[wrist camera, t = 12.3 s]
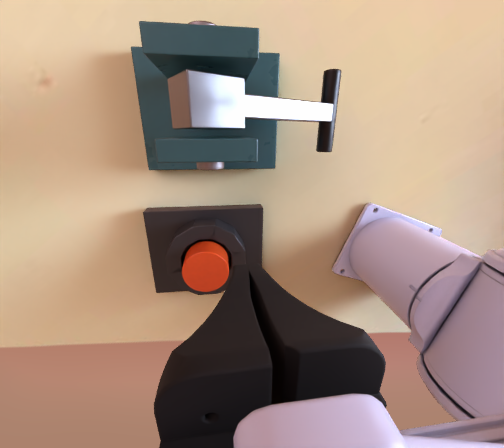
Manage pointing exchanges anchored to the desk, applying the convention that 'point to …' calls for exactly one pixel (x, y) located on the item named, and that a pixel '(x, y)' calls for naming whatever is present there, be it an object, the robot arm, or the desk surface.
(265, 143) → the bracket
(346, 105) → the desk surface
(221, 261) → the button
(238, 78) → the lever
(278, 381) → the robot arm
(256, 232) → the control block
